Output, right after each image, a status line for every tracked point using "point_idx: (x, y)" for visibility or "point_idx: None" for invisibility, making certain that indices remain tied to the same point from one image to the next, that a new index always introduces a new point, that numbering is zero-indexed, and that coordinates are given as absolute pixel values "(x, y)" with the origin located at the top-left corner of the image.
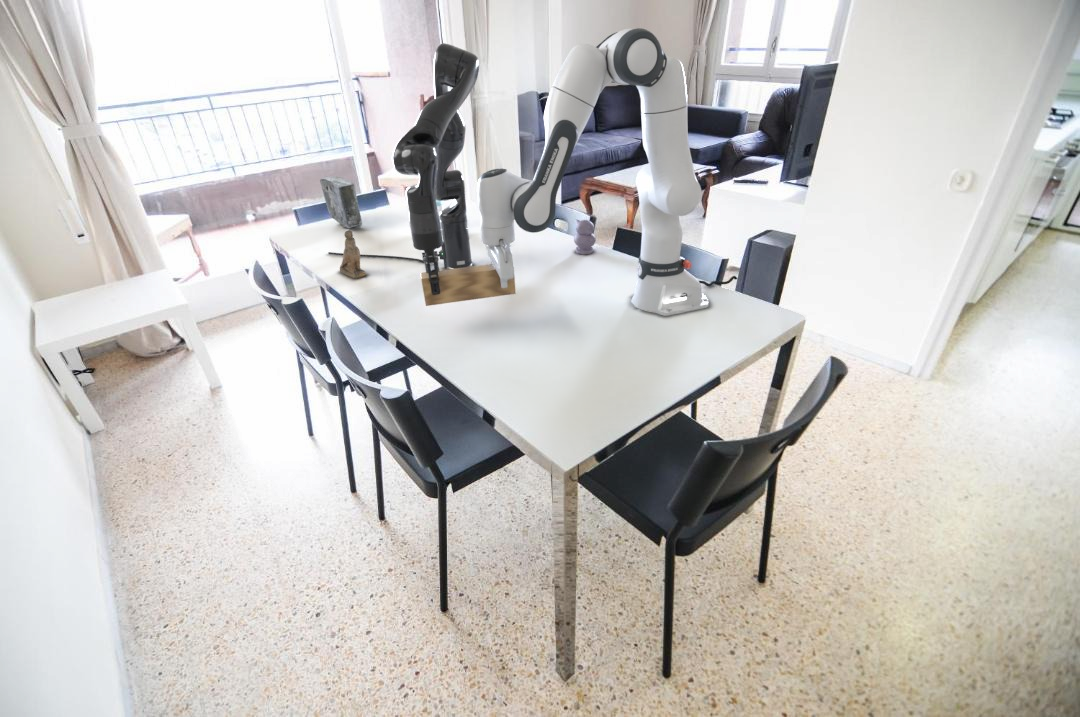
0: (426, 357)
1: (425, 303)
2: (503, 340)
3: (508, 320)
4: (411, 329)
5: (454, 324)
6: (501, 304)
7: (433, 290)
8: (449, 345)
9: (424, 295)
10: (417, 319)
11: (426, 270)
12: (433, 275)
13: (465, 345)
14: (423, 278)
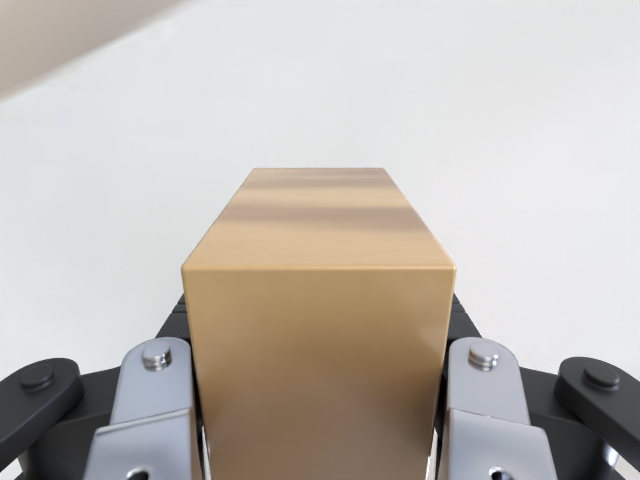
0: (21, 98)
1: (252, 172)
2: None
3: None
4: (350, 31)
5: None
6: None
7: (177, 305)
8: (126, 214)
9: (235, 194)
10: (464, 74)
11: (90, 468)
12: (271, 419)
13: (116, 277)
14: (188, 296)
